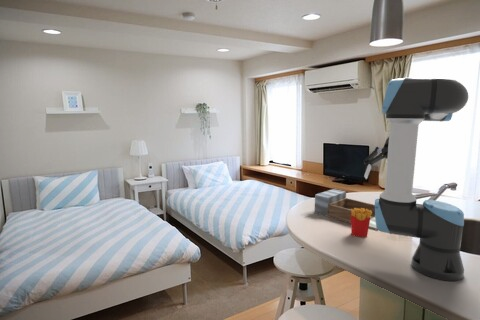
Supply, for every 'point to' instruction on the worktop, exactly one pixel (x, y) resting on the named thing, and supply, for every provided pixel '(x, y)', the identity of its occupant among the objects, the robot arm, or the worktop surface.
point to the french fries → (360, 222)
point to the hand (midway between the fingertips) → (380, 180)
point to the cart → (341, 206)
